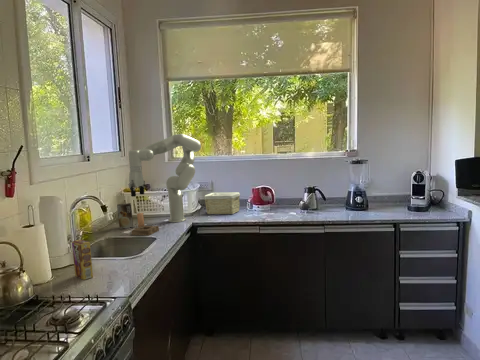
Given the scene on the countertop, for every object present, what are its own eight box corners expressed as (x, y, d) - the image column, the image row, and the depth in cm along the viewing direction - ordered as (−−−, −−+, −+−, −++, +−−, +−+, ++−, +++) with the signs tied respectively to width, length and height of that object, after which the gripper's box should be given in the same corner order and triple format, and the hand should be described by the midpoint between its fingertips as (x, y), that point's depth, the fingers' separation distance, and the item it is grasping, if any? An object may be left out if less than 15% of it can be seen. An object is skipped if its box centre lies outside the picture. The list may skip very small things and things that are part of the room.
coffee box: (133, 225, 255) (131, 202, 253) (133, 227, 249) (131, 204, 247) (119, 227, 252) (117, 204, 251) (119, 229, 246) (116, 205, 245)
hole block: (142, 230, 239) (142, 225, 238) (159, 230, 235) (158, 226, 235) (131, 235, 227) (131, 230, 227) (148, 235, 224) (148, 230, 223)
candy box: (94, 277, 156) (90, 241, 154) (84, 280, 153) (80, 244, 151) (84, 273, 162) (81, 238, 160) (74, 276, 159) (70, 241, 157)
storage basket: (204, 214, 280) (202, 195, 278) (213, 210, 295) (212, 192, 293) (233, 215, 271) (232, 195, 269) (241, 210, 286) (240, 191, 284)
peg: (140, 227, 247) (139, 213, 246) (145, 227, 246) (144, 213, 245) (137, 229, 243) (135, 214, 242) (142, 229, 242) (141, 214, 241)
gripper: (138, 168, 250) (140, 193, 251) (122, 170, 234) (125, 197, 235) (148, 168, 248) (150, 193, 249) (133, 170, 231) (135, 197, 233)
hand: (137, 195), depth 242 cm, fingers open, 9 cm apart
